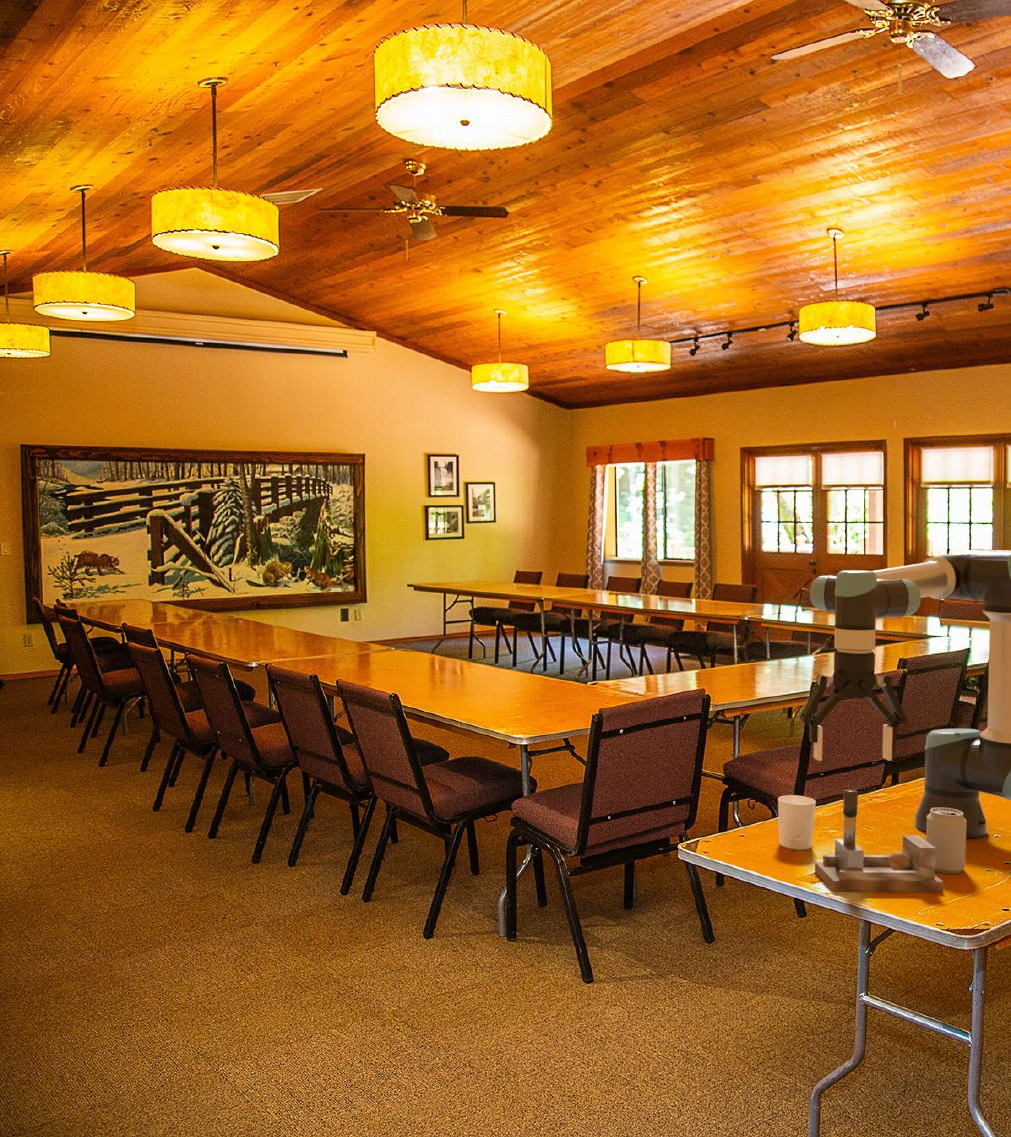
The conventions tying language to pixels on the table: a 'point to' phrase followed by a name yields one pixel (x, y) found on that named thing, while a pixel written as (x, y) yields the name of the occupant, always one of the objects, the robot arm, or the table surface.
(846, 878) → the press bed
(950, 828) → the can
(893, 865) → the tan ball
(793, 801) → the white cup
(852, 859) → the ram
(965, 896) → the table surface
